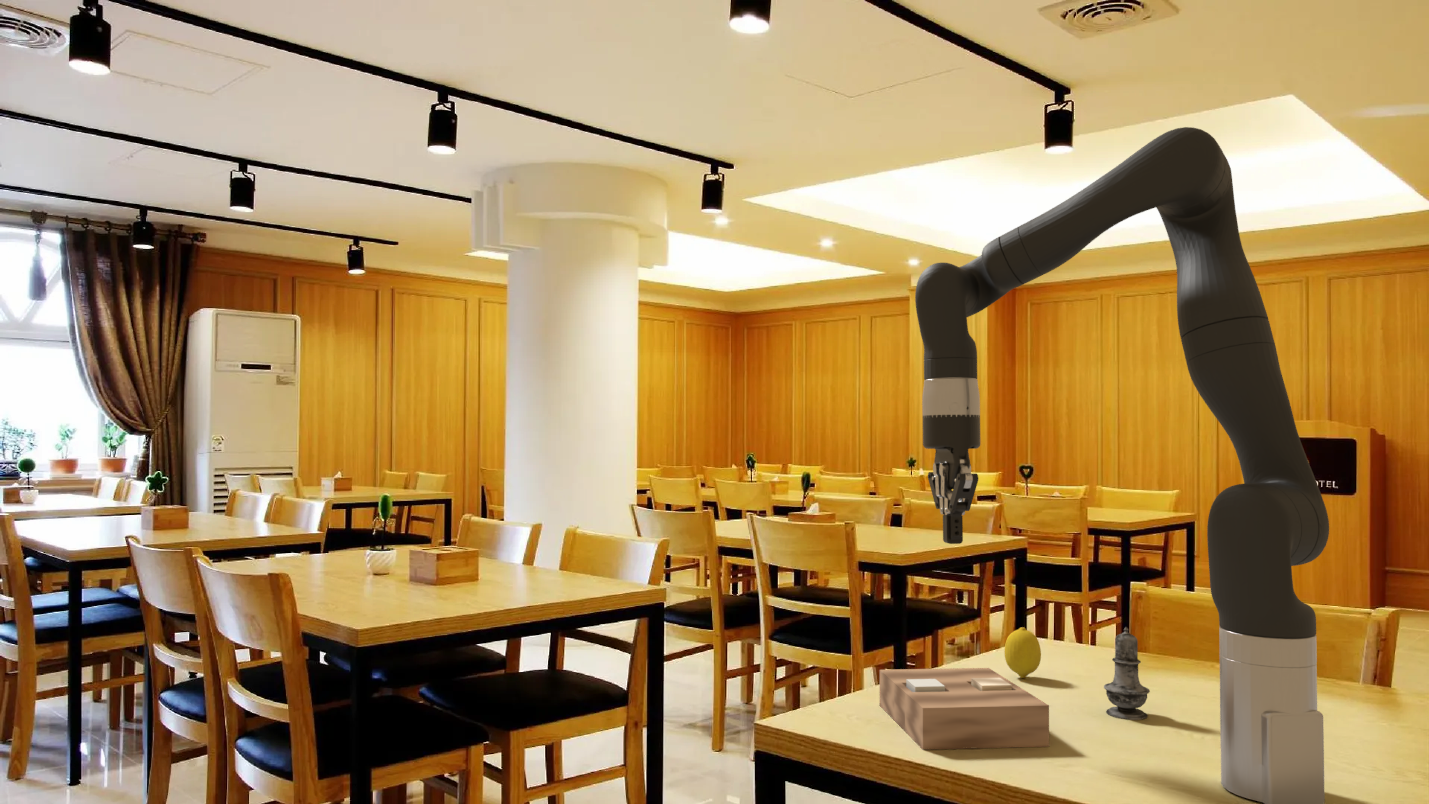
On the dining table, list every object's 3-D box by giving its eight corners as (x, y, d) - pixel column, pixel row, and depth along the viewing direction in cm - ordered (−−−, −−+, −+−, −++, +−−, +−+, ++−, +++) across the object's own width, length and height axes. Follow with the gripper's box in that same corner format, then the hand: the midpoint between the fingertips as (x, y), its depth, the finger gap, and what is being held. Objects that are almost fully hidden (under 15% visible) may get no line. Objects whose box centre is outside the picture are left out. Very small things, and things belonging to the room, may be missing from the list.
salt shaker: (1154, 721, 133) (1153, 631, 134) (1108, 718, 135) (1107, 629, 135) (1144, 710, 139) (1144, 623, 140) (1100, 707, 140) (1099, 622, 141)
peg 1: (945, 725, 129) (945, 686, 129) (915, 725, 129) (915, 686, 129) (935, 716, 133) (935, 678, 133) (906, 716, 133) (906, 679, 133)
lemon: (997, 676, 159) (997, 625, 159) (1024, 672, 161) (1023, 623, 161) (1021, 683, 154) (1021, 631, 154) (1048, 680, 156) (1048, 629, 156)
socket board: (1049, 746, 122) (1049, 705, 122) (922, 749, 121) (922, 708, 121) (988, 703, 142) (988, 667, 142) (879, 705, 141) (879, 669, 141)
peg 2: (1011, 723, 130) (1011, 685, 130) (982, 724, 130) (982, 685, 130) (1000, 715, 134) (999, 677, 134) (971, 715, 134) (971, 678, 134)
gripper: (997, 411, 127) (1000, 547, 126) (959, 415, 140) (961, 538, 139) (941, 411, 126) (943, 548, 125) (908, 415, 139) (909, 539, 138)
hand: (952, 543), depth 132 cm, fingers closed
